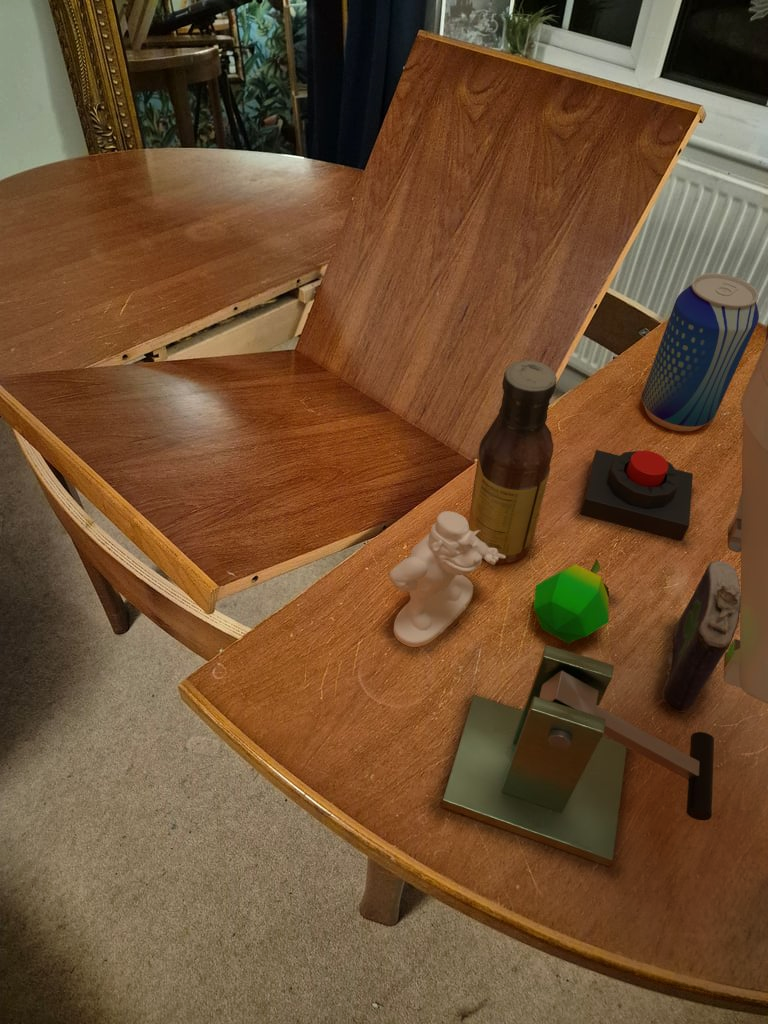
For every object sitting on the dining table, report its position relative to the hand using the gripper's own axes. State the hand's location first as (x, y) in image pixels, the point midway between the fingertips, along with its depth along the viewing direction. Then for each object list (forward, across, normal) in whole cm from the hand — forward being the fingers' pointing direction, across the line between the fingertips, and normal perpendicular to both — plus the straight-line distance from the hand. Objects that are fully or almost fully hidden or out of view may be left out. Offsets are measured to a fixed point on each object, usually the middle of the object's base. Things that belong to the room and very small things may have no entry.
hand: (740, 605), depth 40 cm
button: (+18, +30, +3) cm, 35 cm away
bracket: (+21, -3, +7) cm, 22 cm away
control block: (+21, +30, +3) cm, 37 cm away
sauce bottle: (+21, +19, +15) cm, 32 cm away
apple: (+21, +13, +7) cm, 26 cm away
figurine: (+21, +9, +18) cm, 29 cm away
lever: (+13, -3, +3) cm, 13 cm away
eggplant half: (+21, +12, -3) cm, 24 cm away
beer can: (+21, +47, 0) cm, 52 cm away
